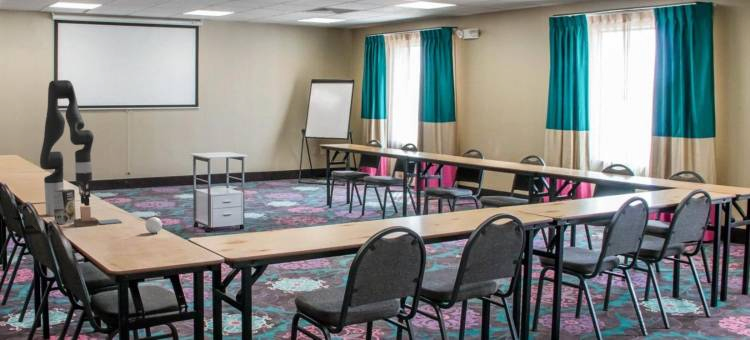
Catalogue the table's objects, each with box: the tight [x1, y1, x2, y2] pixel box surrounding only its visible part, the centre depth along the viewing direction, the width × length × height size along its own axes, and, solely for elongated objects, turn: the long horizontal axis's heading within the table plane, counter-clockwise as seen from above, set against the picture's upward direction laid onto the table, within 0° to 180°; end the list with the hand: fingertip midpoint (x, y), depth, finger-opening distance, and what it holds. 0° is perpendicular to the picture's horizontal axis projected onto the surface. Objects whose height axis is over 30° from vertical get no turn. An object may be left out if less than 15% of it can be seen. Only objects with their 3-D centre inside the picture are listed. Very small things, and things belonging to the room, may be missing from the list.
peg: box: [79, 205, 92, 221], centre depth 388 cm, size 4×4×9 cm
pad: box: [98, 218, 123, 226], centre depth 394 cm, size 10×10×1 cm
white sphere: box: [145, 217, 163, 234], centre depth 365 cm, size 10×7×7 cm
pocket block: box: [73, 216, 99, 228], centre depth 389 cm, size 10×10×2 cm
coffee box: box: [53, 189, 77, 225], centre depth 394 cm, size 9×6×16 cm
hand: (85, 204), depth 387 cm, fingers open, 8 cm apart
